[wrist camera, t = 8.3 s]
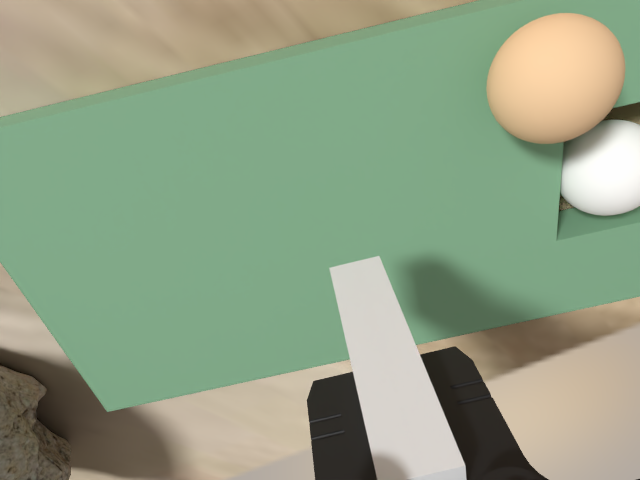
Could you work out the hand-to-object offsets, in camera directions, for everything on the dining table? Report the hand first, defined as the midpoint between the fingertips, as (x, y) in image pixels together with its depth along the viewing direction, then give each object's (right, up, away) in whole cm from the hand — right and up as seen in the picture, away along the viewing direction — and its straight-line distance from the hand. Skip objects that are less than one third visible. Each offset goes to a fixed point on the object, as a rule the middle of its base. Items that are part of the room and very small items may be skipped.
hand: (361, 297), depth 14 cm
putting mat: (+1, +3, +5) cm, 6 cm away
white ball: (+9, +4, +3) cm, 11 cm away
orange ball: (+5, +6, -1) cm, 8 cm away
